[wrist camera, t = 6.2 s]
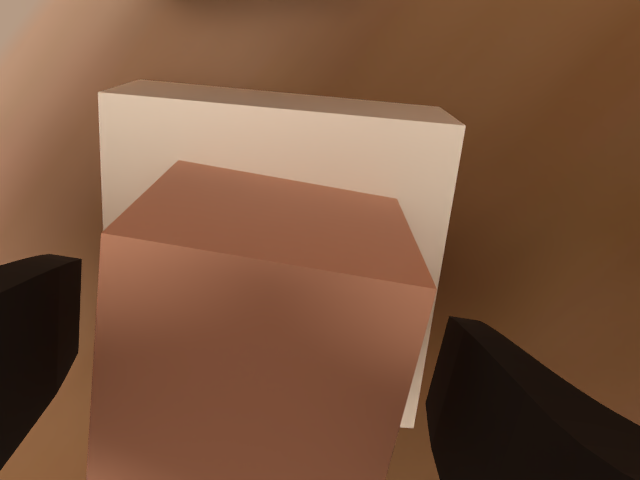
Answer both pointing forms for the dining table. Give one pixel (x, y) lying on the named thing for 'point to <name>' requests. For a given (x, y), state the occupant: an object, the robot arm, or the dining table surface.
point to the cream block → (288, 152)
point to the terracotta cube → (254, 331)
